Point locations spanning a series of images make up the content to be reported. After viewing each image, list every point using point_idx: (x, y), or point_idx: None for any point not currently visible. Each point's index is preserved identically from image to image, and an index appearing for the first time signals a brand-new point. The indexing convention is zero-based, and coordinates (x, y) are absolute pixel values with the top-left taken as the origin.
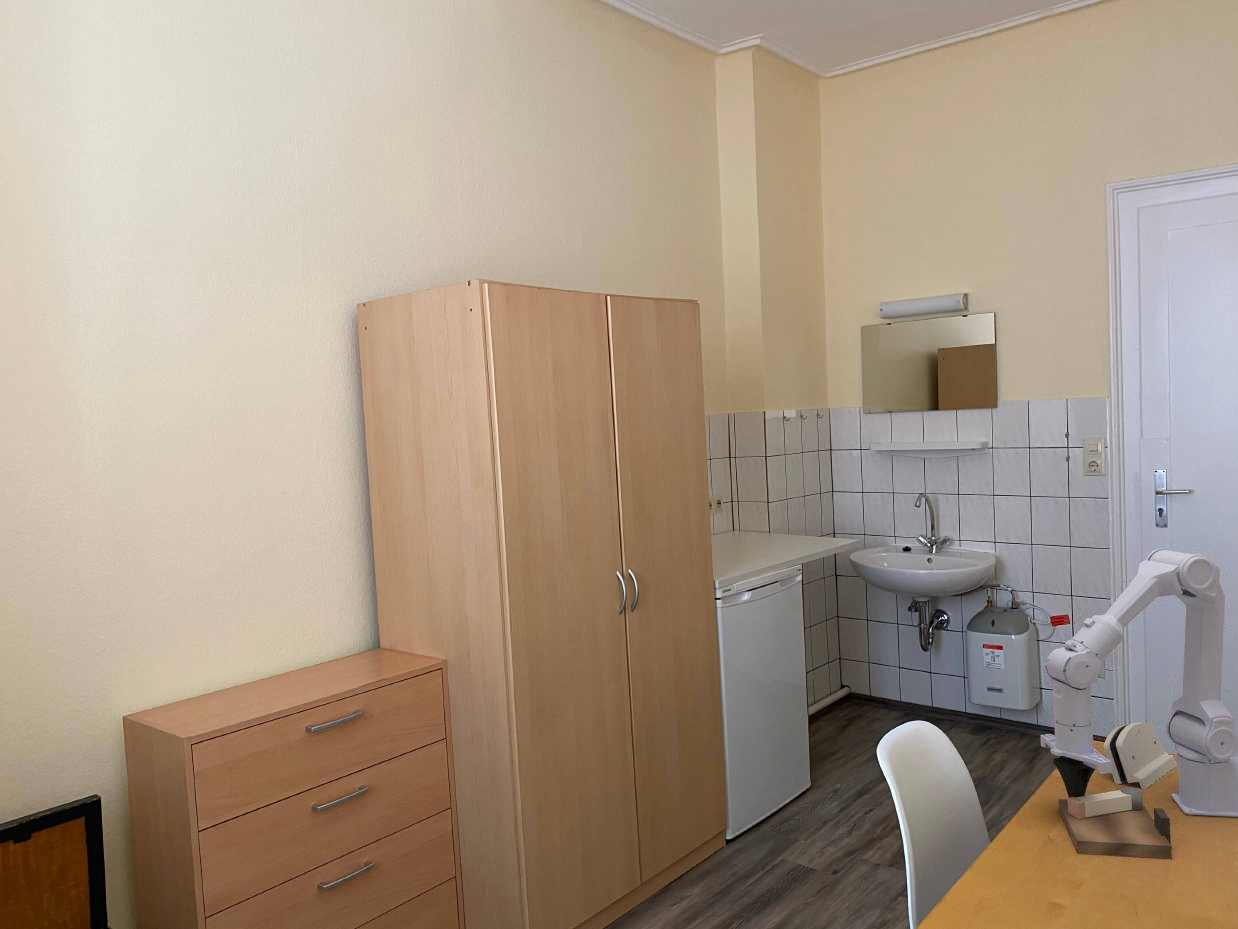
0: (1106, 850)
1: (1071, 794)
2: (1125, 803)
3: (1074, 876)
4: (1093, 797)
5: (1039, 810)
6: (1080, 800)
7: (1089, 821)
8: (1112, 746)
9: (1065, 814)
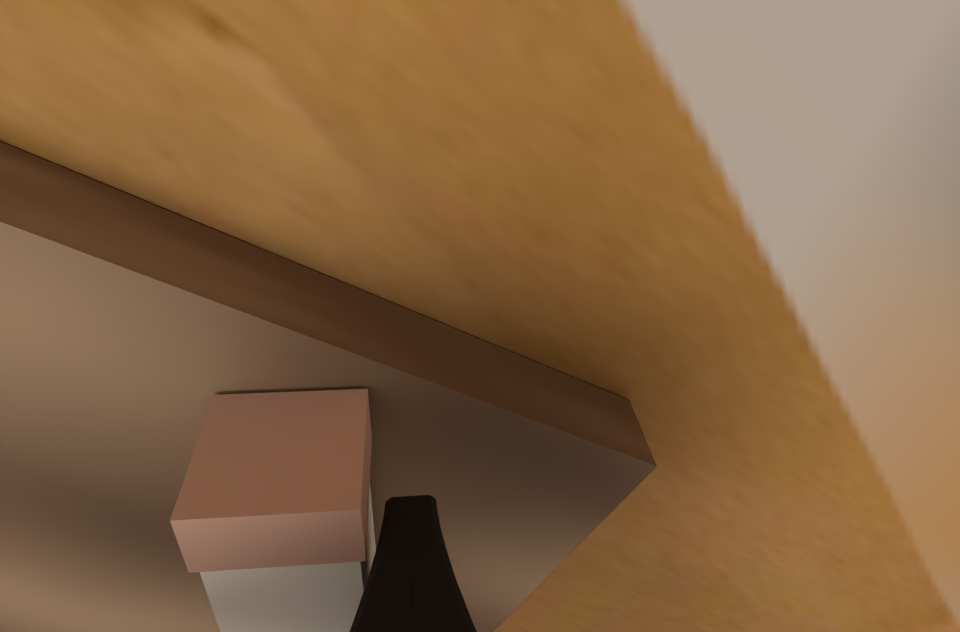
0: None
1: (372, 570)
2: None
3: None
4: None
5: (710, 294)
6: (251, 566)
7: (162, 438)
8: None
9: (363, 359)
